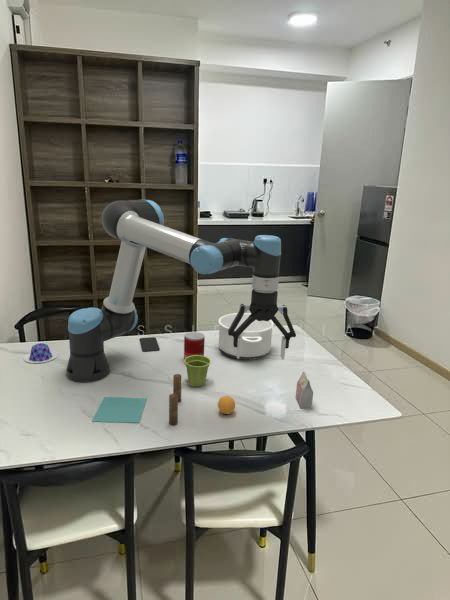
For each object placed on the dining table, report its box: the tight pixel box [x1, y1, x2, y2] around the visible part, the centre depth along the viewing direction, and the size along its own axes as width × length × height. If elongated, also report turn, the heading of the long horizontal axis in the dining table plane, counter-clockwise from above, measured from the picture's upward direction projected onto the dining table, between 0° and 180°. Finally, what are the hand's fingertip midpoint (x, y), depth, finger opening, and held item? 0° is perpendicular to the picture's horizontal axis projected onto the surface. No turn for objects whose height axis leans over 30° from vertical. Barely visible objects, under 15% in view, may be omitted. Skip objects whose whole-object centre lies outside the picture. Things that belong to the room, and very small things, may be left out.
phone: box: [139, 336, 161, 353], centre depth 179 cm, size 7×1×15 cm
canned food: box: [183, 331, 206, 361], centre depth 164 cm, size 8×8×11 cm
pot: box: [217, 312, 275, 360], centre depth 175 cm, size 33×23×14 cm
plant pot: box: [183, 355, 212, 387], centre depth 147 cm, size 9×9×9 cm
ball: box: [217, 395, 236, 415], centre depth 130 cm, size 6×6×6 cm
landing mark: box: [91, 396, 147, 424], centre depth 129 cm, size 14×14×1 cm
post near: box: [168, 393, 179, 426], centre depth 122 cm, size 3×3×9 cm
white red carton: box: [295, 371, 314, 410], centre depth 137 cm, size 4×7×10 cm, turn 4°
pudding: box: [23, 342, 58, 364], centre depth 162 cm, size 12×12×5 cm
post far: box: [172, 373, 182, 404], centre depth 135 cm, size 3×3×9 cm
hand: (260, 357), depth 126 cm, fingers open, 13 cm apart
